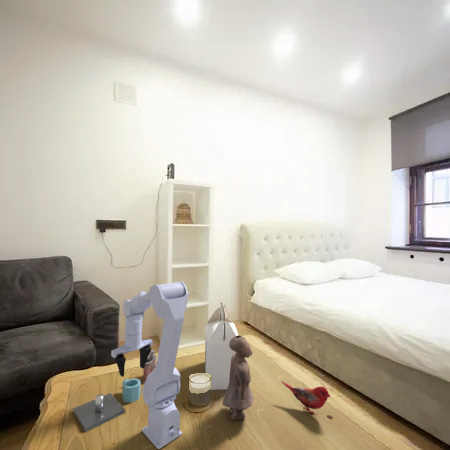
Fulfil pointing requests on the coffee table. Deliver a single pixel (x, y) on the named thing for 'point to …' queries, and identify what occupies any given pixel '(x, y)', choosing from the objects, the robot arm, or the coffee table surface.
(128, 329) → the robot arm
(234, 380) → the clay figurine
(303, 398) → the decorative bird figurine
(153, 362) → the lighter
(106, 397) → the base
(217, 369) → the gable box
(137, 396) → the elbow collar
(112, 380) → the coffee table surface
